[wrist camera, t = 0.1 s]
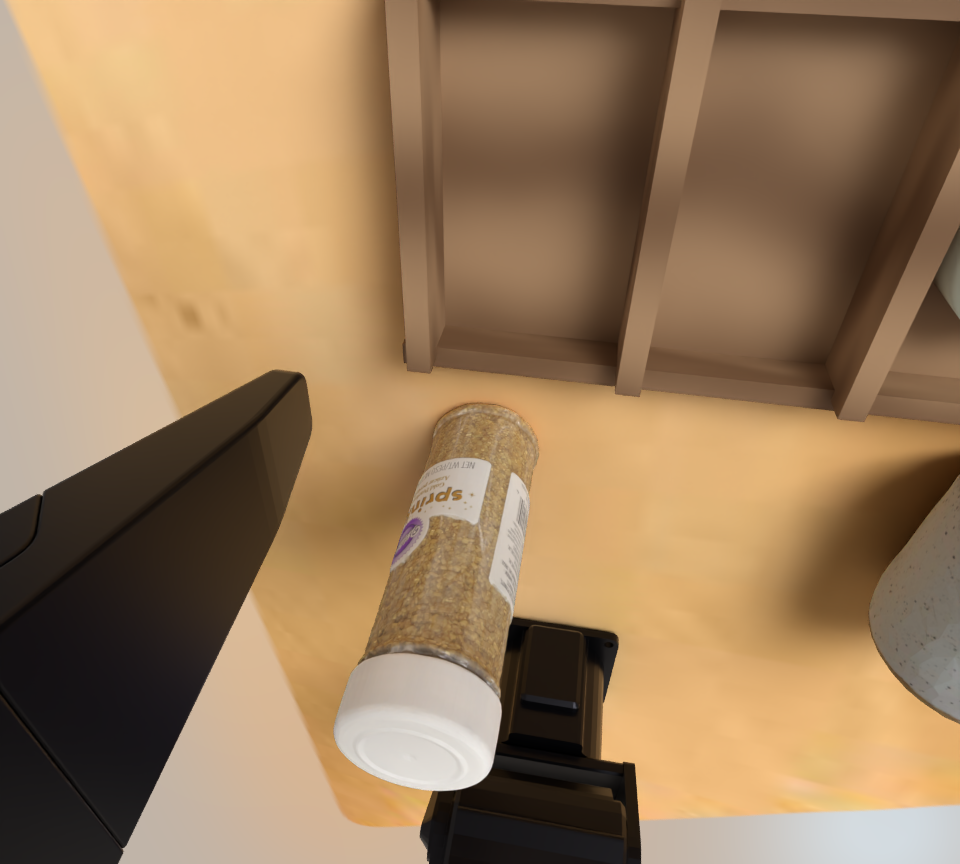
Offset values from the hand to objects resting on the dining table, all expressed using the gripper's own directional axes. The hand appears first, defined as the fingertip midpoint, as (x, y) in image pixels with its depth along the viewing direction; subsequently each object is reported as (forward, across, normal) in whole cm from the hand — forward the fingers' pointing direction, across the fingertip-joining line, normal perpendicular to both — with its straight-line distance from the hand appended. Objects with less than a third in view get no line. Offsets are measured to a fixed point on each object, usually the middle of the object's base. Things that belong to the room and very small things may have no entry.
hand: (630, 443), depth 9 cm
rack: (+15, -5, +2) cm, 15 cm away
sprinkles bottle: (+15, +4, +13) cm, 20 cm away
